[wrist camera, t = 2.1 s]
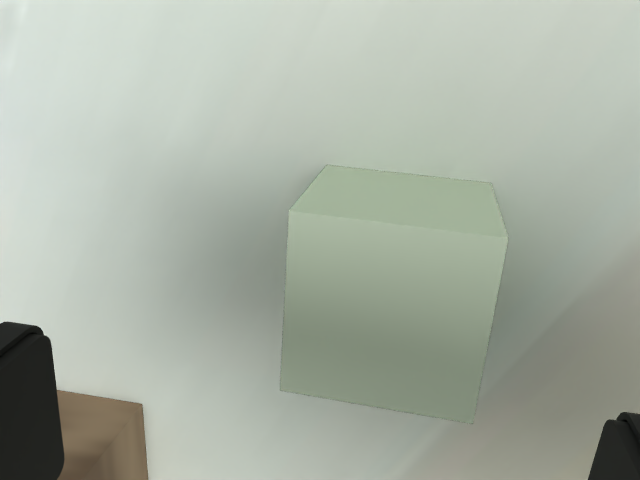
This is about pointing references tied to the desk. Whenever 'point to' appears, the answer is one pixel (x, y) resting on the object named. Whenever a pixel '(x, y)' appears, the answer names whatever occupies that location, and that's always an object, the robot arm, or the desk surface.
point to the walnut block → (101, 438)
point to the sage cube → (391, 290)
